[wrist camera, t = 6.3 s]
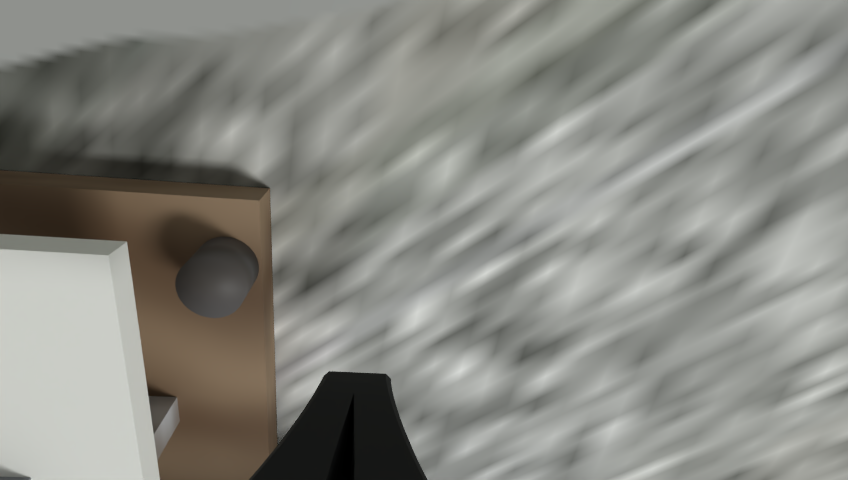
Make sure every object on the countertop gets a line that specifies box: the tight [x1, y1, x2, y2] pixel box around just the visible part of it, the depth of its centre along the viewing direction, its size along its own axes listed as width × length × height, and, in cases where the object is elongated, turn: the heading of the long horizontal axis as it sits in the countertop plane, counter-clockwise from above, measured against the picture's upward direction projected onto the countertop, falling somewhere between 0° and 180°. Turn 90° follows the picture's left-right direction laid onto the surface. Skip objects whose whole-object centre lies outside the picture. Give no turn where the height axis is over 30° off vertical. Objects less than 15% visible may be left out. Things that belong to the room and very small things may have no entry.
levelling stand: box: [0, 170, 277, 480], centre depth 20 cm, size 18×16×4 cm
